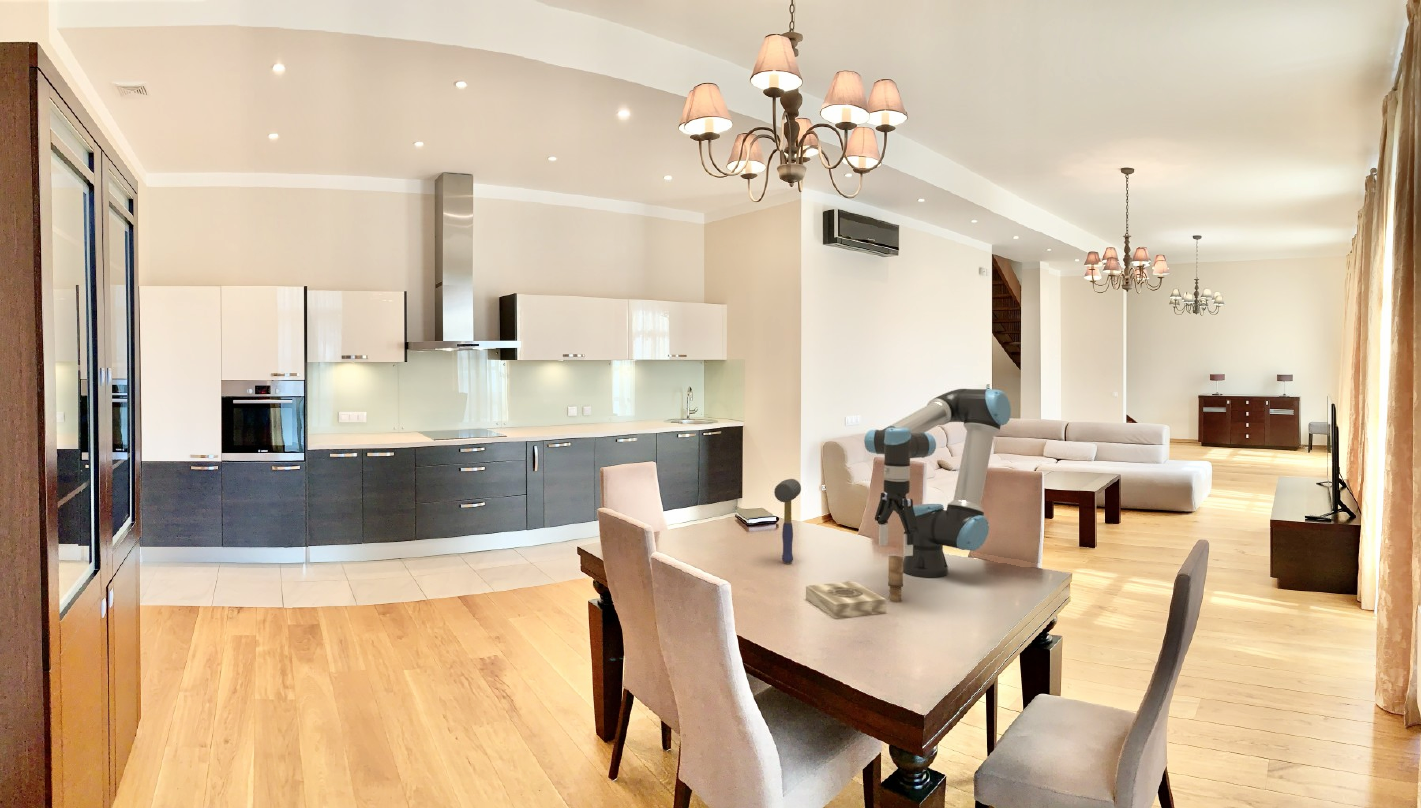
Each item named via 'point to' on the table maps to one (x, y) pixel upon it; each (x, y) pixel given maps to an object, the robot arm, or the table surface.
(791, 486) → the rubber mallet
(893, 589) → the peg
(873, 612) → the board
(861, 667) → the table surface
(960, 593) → the table surface
